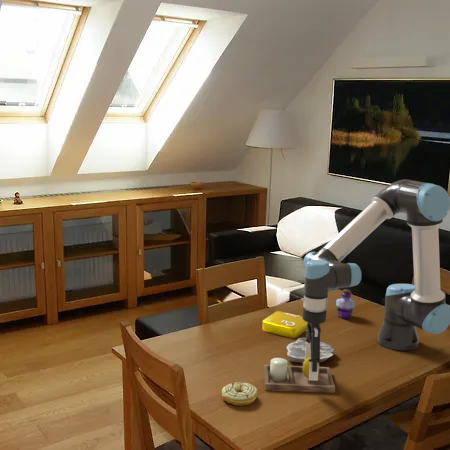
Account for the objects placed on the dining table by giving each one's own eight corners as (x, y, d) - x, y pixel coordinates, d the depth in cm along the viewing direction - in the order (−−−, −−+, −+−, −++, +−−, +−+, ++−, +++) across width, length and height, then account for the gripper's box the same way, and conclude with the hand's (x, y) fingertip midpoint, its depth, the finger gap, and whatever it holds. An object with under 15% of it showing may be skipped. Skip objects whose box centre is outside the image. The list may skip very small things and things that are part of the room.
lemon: (318, 384, 186) (319, 361, 185) (301, 382, 188) (302, 359, 186) (319, 376, 192) (320, 354, 190) (302, 375, 193) (303, 352, 191)
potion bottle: (332, 313, 252) (333, 287, 250) (351, 313, 253) (353, 286, 251) (338, 320, 244) (339, 293, 241) (357, 320, 245) (359, 293, 242)
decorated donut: (228, 388, 184) (228, 377, 184) (260, 394, 181) (261, 383, 180) (217, 403, 175) (217, 392, 174) (251, 410, 171) (251, 398, 171)
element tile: (309, 327, 237) (310, 316, 236) (294, 339, 224) (295, 328, 223) (276, 319, 244) (277, 309, 243) (260, 331, 232) (260, 319, 231)
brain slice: (328, 372, 197) (329, 363, 197) (280, 363, 203) (280, 355, 202) (338, 350, 216) (338, 342, 215) (293, 342, 221) (293, 335, 220)
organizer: (328, 372, 196) (329, 367, 196) (334, 392, 183) (335, 387, 182) (264, 369, 197) (264, 364, 197) (265, 389, 183) (265, 384, 183)
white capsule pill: (286, 374, 193) (287, 358, 191) (287, 382, 187) (288, 365, 186) (269, 374, 193) (270, 357, 192) (270, 382, 187) (270, 364, 186)
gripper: (299, 295, 197) (296, 353, 201) (306, 322, 172) (302, 388, 177) (321, 296, 197) (318, 354, 201) (332, 323, 172) (327, 389, 177)
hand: (311, 370), depth 189 cm, fingers open, 13 cm apart
